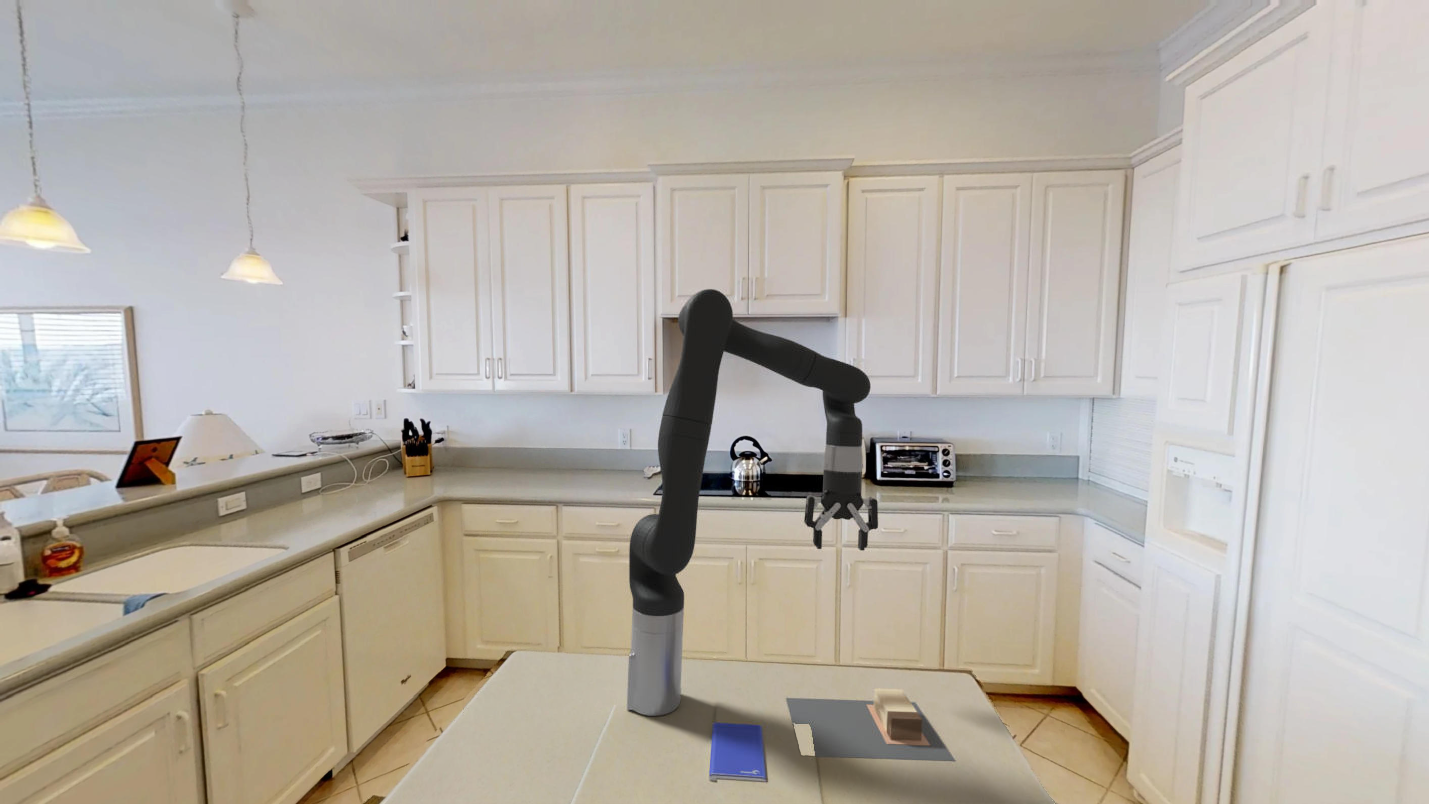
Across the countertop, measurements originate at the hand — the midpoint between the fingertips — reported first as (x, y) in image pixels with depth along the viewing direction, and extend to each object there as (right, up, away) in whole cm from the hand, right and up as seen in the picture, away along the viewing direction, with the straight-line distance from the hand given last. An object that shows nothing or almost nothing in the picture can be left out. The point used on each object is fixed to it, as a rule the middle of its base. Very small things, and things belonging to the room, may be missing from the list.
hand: (839, 548), depth 105 cm
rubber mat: (0, -26, -16) cm, 31 cm away
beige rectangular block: (+6, -26, -15) cm, 30 cm away
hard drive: (-22, -26, -24) cm, 41 cm away
